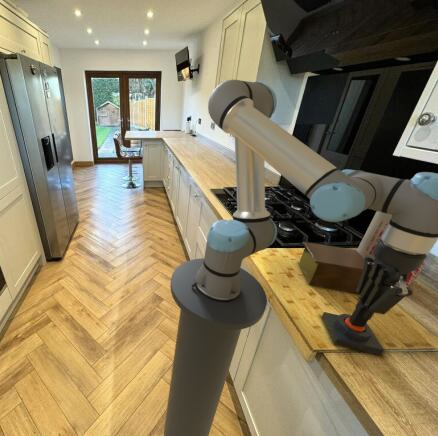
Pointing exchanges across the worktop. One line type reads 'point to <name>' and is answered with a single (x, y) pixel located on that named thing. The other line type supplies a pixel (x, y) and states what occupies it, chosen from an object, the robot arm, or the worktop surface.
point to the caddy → (329, 275)
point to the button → (354, 326)
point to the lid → (335, 256)
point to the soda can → (413, 276)
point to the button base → (351, 334)
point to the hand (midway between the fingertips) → (356, 323)
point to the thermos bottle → (373, 234)
